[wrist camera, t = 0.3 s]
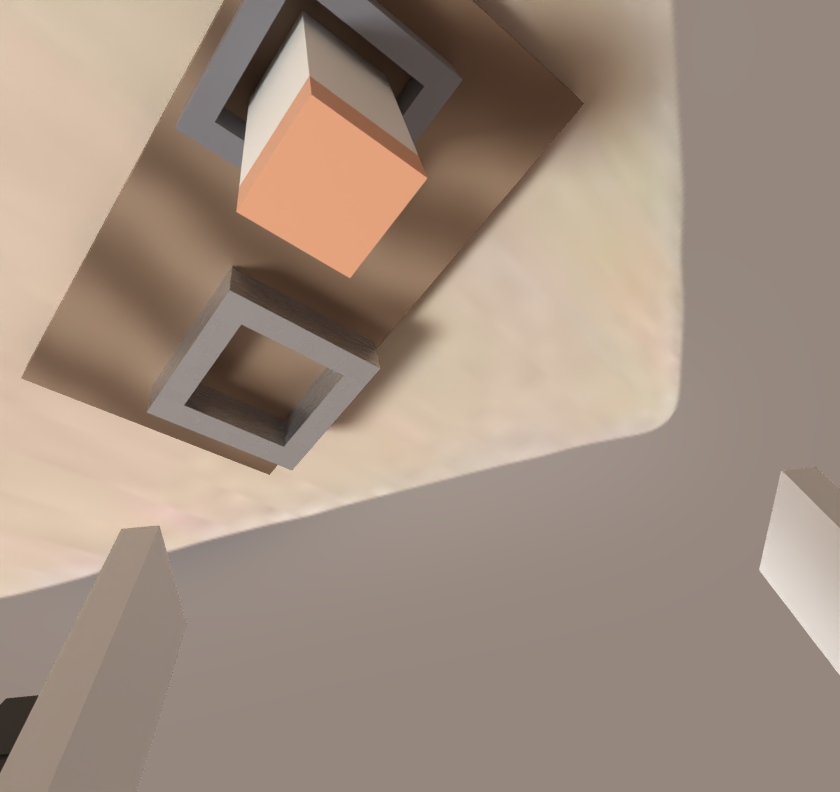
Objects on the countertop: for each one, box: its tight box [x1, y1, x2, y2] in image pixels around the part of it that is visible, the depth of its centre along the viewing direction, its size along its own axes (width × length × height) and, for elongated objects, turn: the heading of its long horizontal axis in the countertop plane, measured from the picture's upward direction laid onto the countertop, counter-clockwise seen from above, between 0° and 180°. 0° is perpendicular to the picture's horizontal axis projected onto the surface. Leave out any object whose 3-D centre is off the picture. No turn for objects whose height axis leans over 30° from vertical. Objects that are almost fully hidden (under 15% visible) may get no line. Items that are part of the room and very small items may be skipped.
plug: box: [236, 10, 427, 278], centre depth 27 cm, size 4×4×12 cm
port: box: [147, 266, 380, 470], centre depth 40 cm, size 10×10×2 cm
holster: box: [175, 0, 462, 169], centre depth 31 cm, size 9×9×2 cm
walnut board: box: [22, 0, 584, 475], centre depth 37 cm, size 30×16×2 cm, turn 142°
